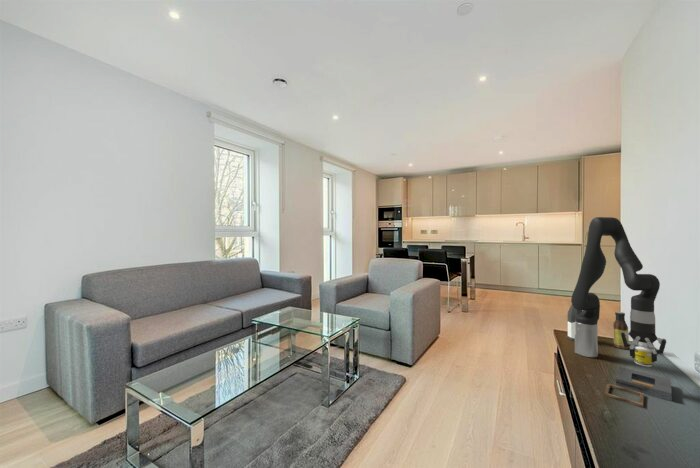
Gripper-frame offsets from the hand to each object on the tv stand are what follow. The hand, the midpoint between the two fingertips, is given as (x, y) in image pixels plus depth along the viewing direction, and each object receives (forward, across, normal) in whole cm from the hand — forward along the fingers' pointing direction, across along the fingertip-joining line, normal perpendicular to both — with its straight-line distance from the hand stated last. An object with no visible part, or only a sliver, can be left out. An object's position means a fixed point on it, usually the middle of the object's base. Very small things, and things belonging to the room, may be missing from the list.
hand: (643, 359), depth 123 cm
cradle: (+11, +5, +16) cm, 20 cm away
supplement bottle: (+2, 0, 0) cm, 2 cm away
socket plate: (+11, 0, 0) cm, 11 cm away
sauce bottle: (+11, +10, -48) cm, 50 cm away
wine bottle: (+11, +30, -45) cm, 55 cm away
